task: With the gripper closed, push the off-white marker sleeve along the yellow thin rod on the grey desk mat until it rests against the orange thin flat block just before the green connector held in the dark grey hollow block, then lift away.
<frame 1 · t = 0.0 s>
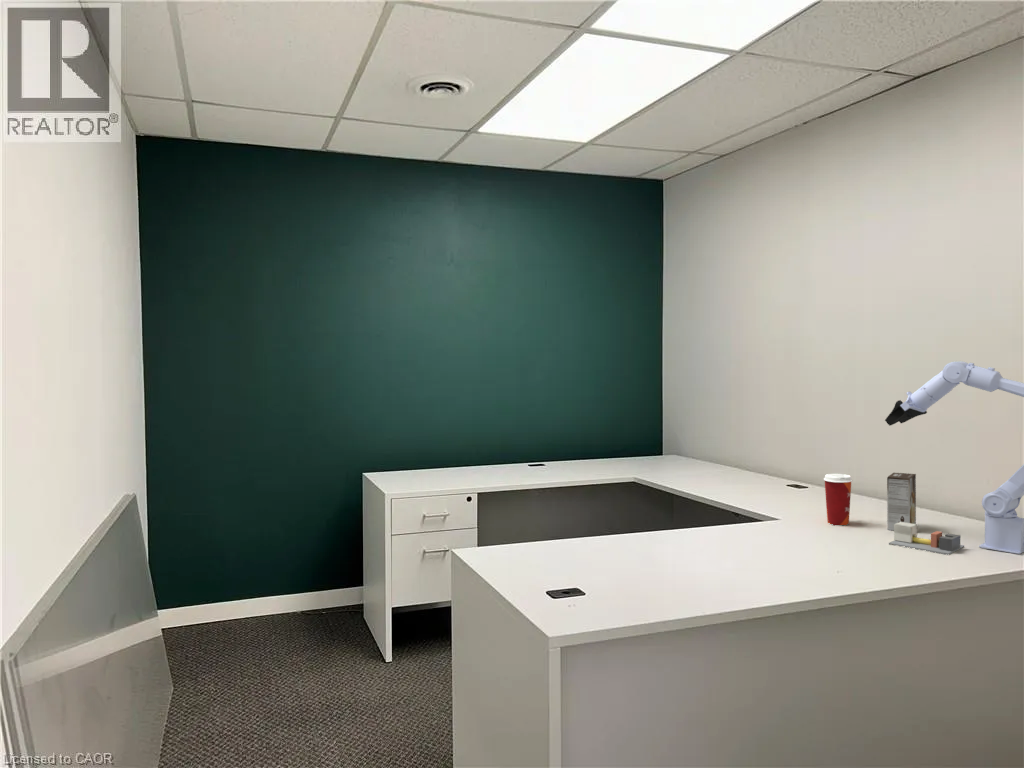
hand: (893, 421, 218), 32 cm above the table, tool tilted 50°, fingers open, 7 cm apart
orange thin flat block: (936, 547, 201), resting on mat
coffee cup: (838, 524, 230), on the table
coffee box: (901, 529, 222), on the table
mat: (925, 545, 203), on the table
dark grey hollow block: (949, 549, 198), resting on mat
yellow thin rod: (920, 544, 204), resting on mat
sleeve: (905, 532, 207), point 3 cm above the table, slide at 0.0 cm
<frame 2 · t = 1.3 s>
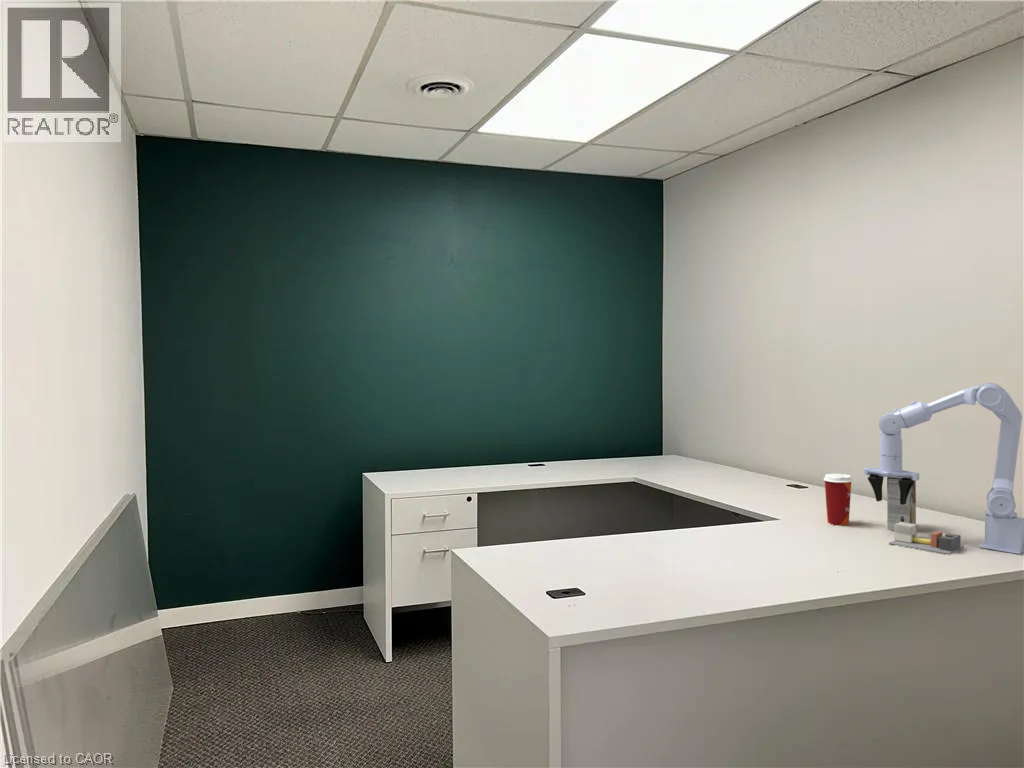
hand: (891, 502, 212), 10 cm above the table, tool pointing down, fingers open, 6 cm apart
nothing on the table moved.
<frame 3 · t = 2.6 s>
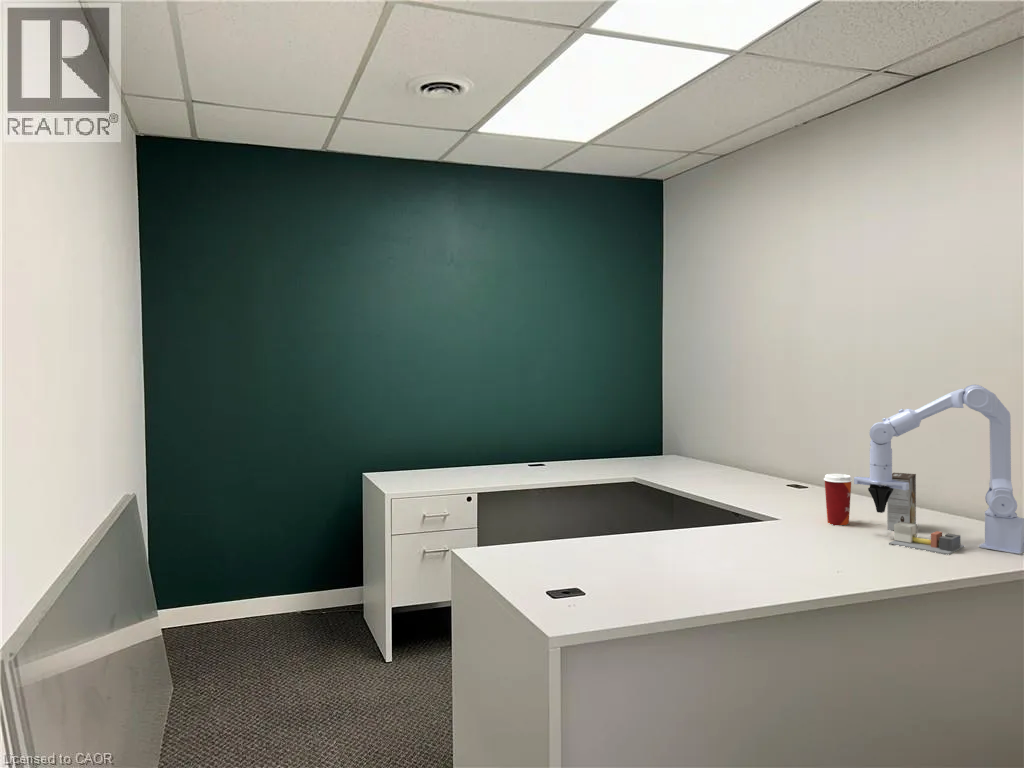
hand: (880, 512, 212), 7 cm above the table, tool pointing down, fingers closed
nothing on the table moved.
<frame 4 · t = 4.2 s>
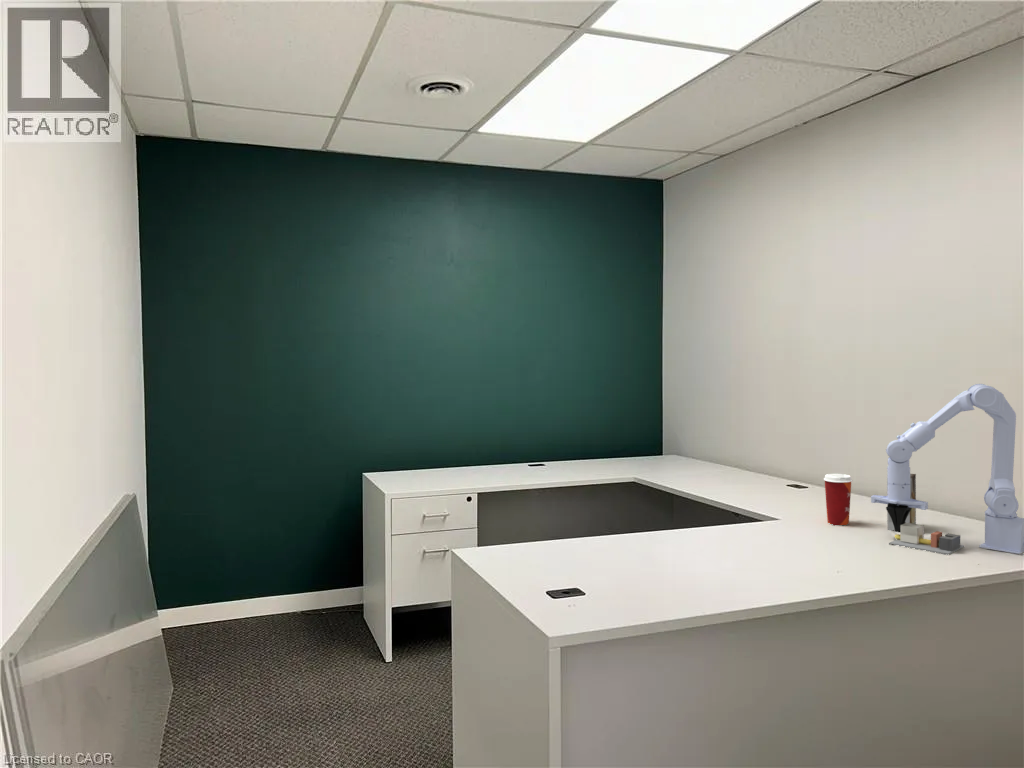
hand: (898, 531, 208), 3 cm above the table, tool pointing down, fingers closed
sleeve: (912, 533, 205), point 3 cm above the table, slide at 1.7 cm, touching gripper
everything else where it was.
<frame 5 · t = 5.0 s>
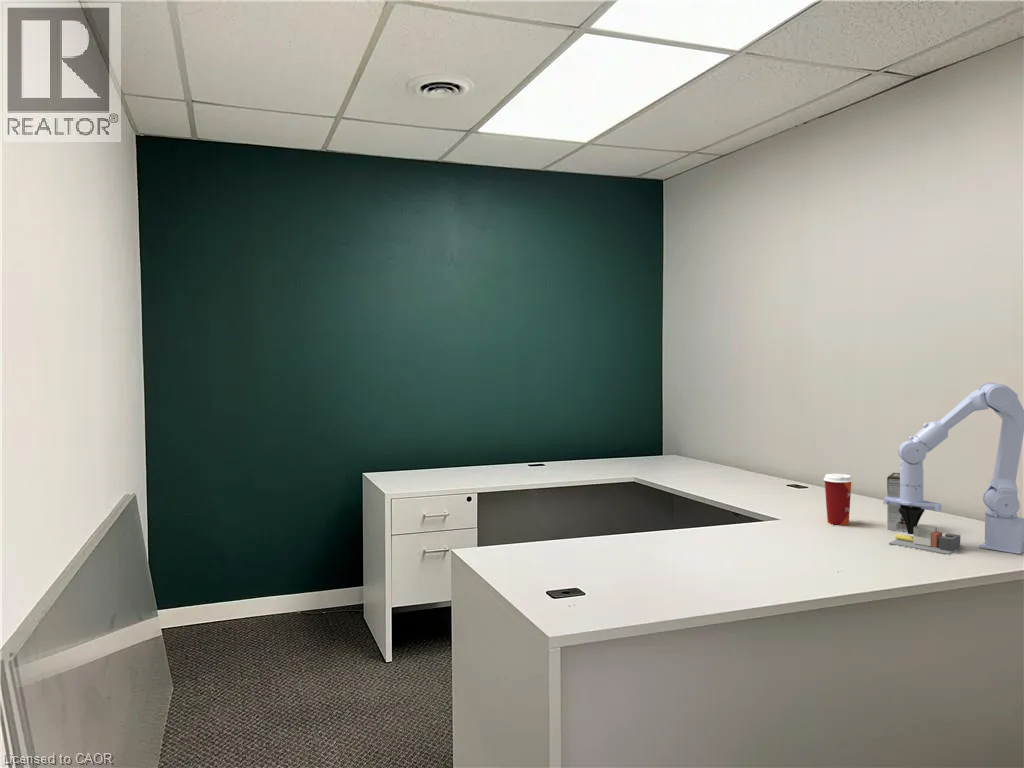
hand: (911, 533, 206), 3 cm above the table, tool pointing down, fingers closed
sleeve: (925, 535, 203), point 3 cm above the table, slide at 5.1 cm, touching orange thin flat block, gripper
everything else where it was.
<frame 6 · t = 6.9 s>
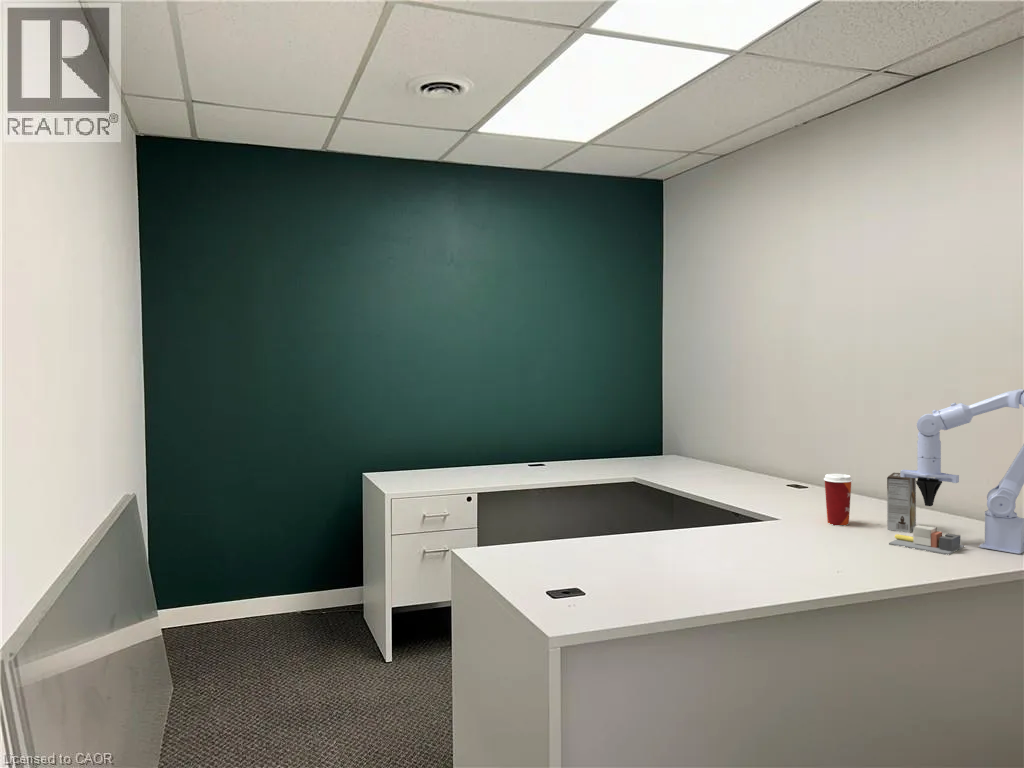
hand: (929, 505, 207), 10 cm above the table, tool pointing down, fingers closed
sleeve: (925, 535, 203), point 3 cm above the table, slide at 5.1 cm, touching orange thin flat block
everything else where it was.
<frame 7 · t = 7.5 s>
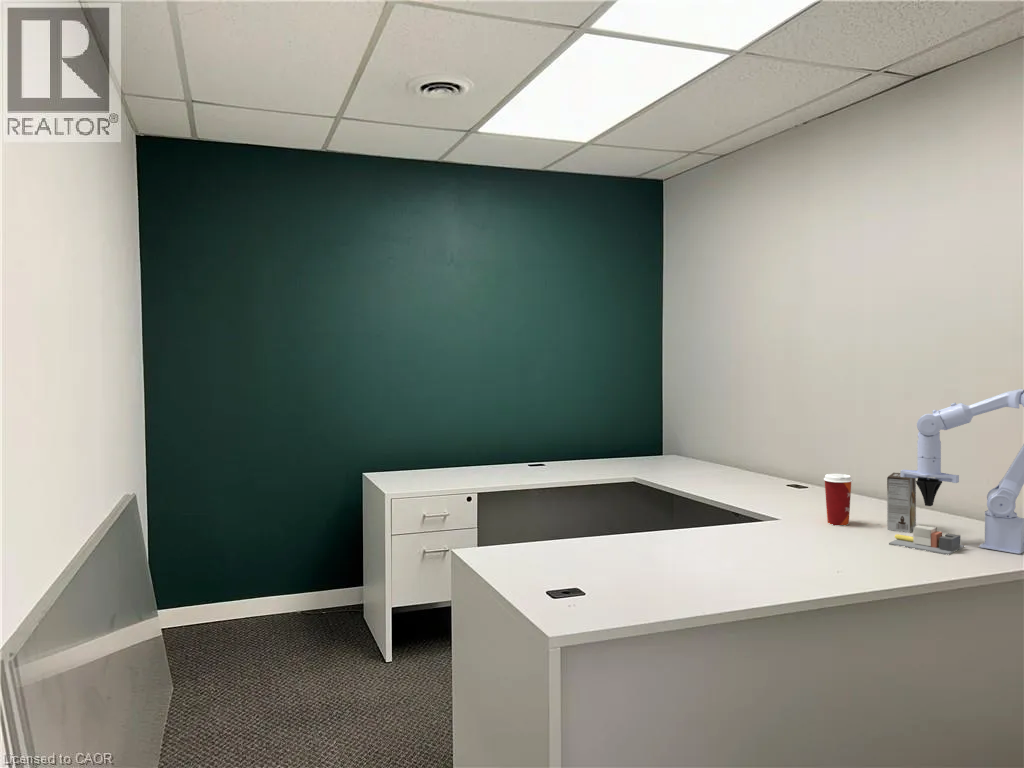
hand: (929, 505, 207), 10 cm above the table, tool pointing down, fingers closed
nothing on the table moved.
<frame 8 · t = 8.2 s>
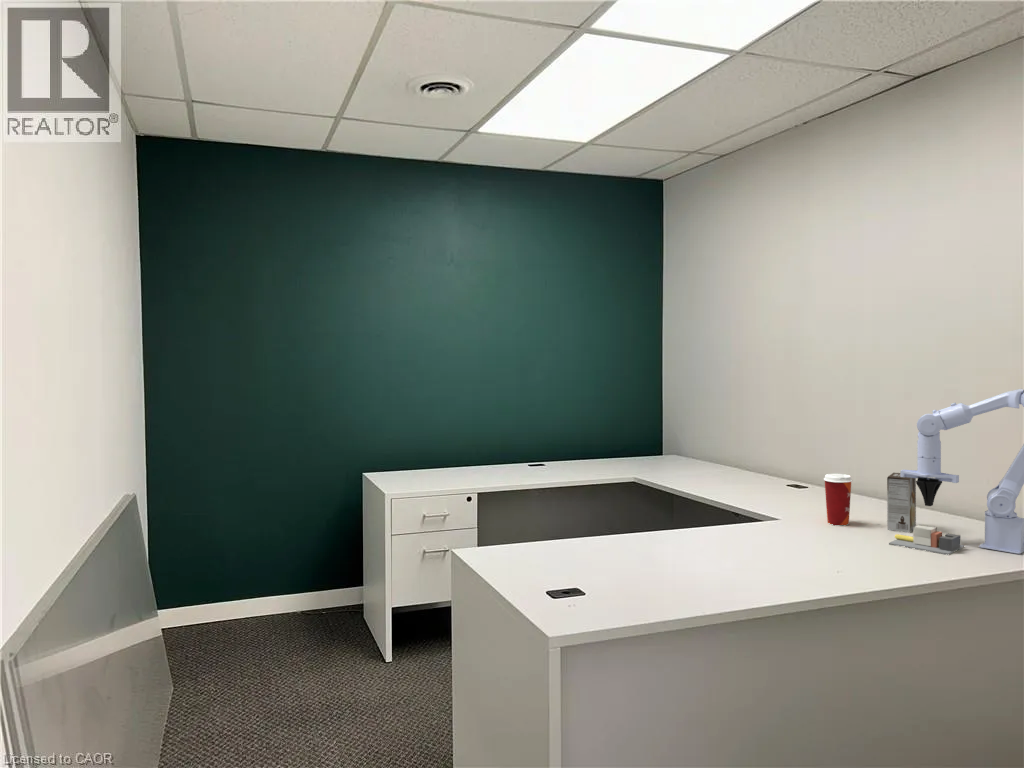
hand: (929, 505, 207), 10 cm above the table, tool pointing down, fingers closed
nothing on the table moved.
at the end: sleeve slide at 5.1 cm; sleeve 2.9 cm from the orange thin flat block (horizontally) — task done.
